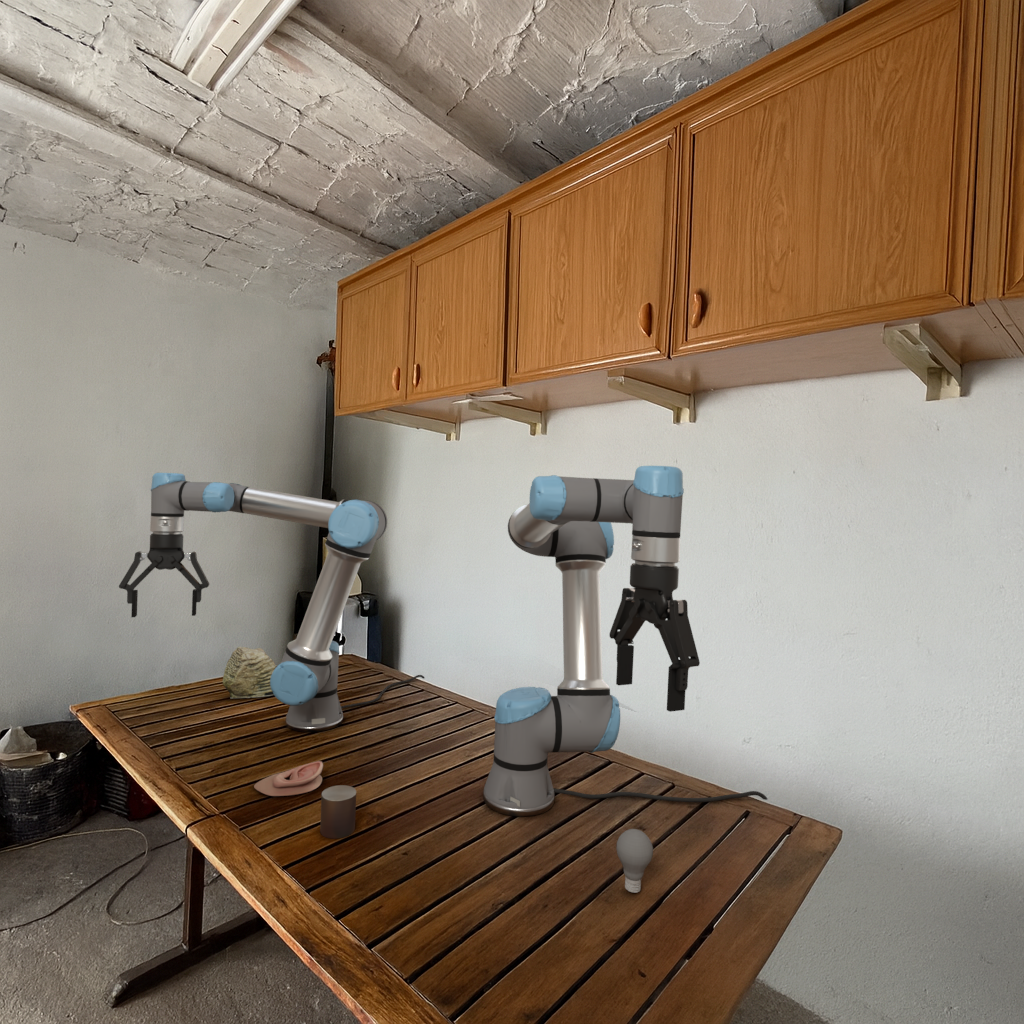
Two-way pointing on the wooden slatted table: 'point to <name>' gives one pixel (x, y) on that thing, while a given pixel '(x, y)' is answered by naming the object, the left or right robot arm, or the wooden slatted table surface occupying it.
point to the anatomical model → (292, 781)
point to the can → (338, 811)
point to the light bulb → (634, 857)
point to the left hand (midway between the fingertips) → (164, 615)
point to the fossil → (248, 673)
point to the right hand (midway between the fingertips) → (648, 696)
